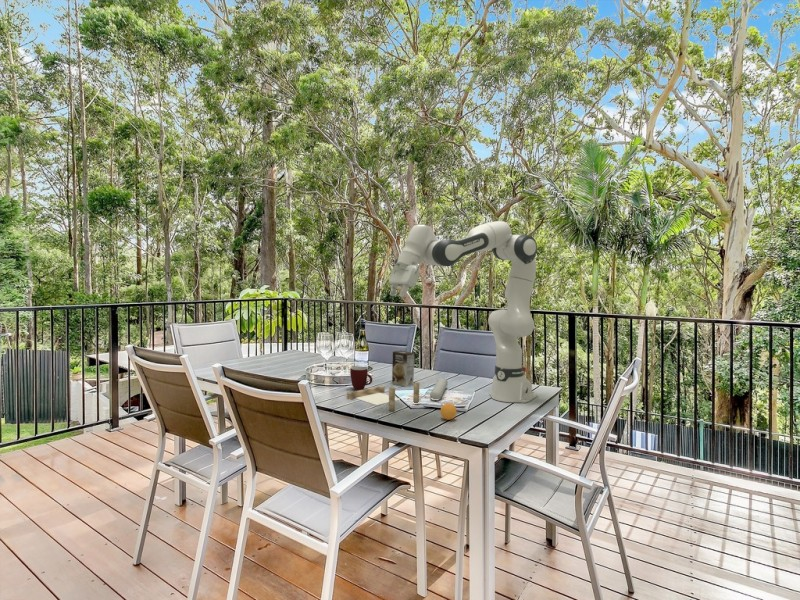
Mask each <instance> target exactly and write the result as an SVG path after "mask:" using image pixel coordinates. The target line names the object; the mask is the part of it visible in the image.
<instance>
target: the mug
mask: <svg viewBox="0 0 800 600" xmlns="http://www.w3.org/2000/svg"><path fill="white" fill-rule="evenodd" d="M368 370H369V369H368V367H367V366H352V367H350V370H349V371H350V372H349V373H350V381H351V385H352V387H353V389H354V391H359V390H364V389H365V387H366V386H370V385H371V384H372V383H373V377H372V375H371V374H369V371H368ZM368 378H369V382H368V383H367V380H368Z"/></svg>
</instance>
